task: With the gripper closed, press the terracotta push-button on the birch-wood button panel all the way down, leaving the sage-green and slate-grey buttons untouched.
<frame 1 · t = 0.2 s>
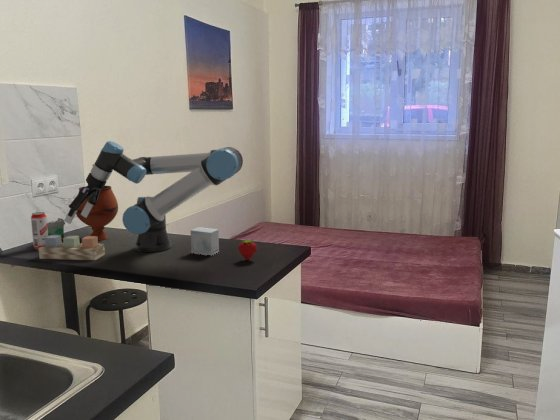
hand: (75, 219, 210), 15 cm above the counter, tool tilted 30°, fingers open, 13 cm apart
terracotta button: (89, 242, 208), point 6 cm above the counter, slide at 0.0 cm
slate-grey button: (53, 241, 209), point 6 cm above the counter, slide at 0.0 cm
strawberry: (247, 260, 204), on the counter
goblet: (98, 238, 240), on the counter
food container: (58, 242, 234), on the counter
button panel: (72, 256, 210), on the counter
beer can: (41, 249, 222), on the counter
skincare box: (205, 253, 215), on the counter
sage-green button: (71, 241, 209), point 6 cm above the counter, slide at 0.0 cm
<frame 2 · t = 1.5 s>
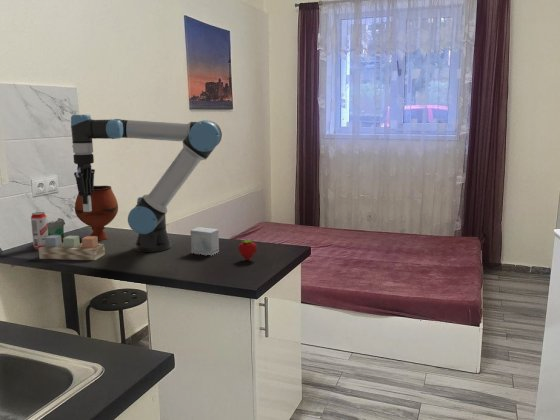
hand: (87, 211, 205), 19 cm above the counter, tool pointing down, fingers closed
nothing on the counter moved.
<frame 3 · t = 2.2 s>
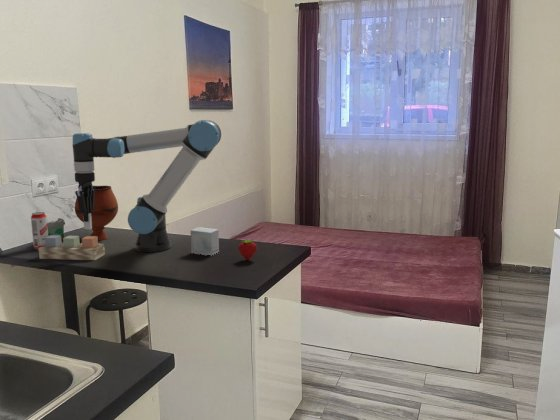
hand: (88, 228, 207), 12 cm above the counter, tool pointing down, fingers closed
nothing on the counter moved.
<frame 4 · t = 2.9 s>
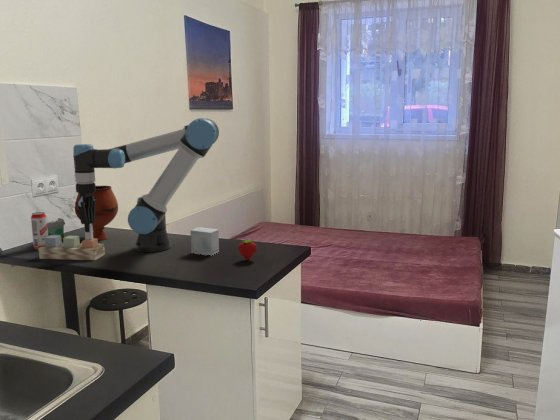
hand: (89, 239, 208), 8 cm above the counter, tool pointing down, fingers closed
terracotta button: (90, 244, 208), point 5 cm above the counter, slide at 0.9 cm, touching gripper
everything else where it was.
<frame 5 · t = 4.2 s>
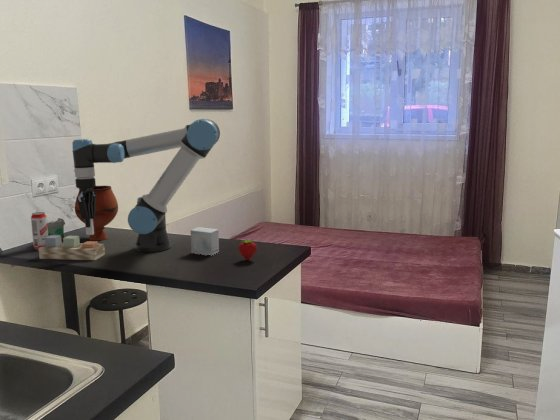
hand: (90, 234, 207), 10 cm above the counter, tool pointing down, fingers closed
terracotta button: (90, 247, 208), point 4 cm above the counter, slide at 2.2 cm
everything else where it was.
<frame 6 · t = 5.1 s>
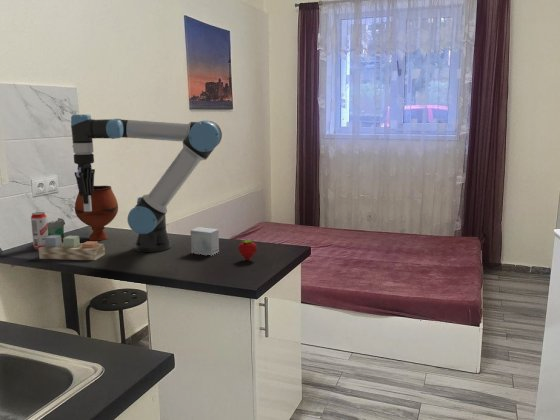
hand: (88, 211, 206), 19 cm above the counter, tool pointing down, fingers closed
nothing on the counter moved.
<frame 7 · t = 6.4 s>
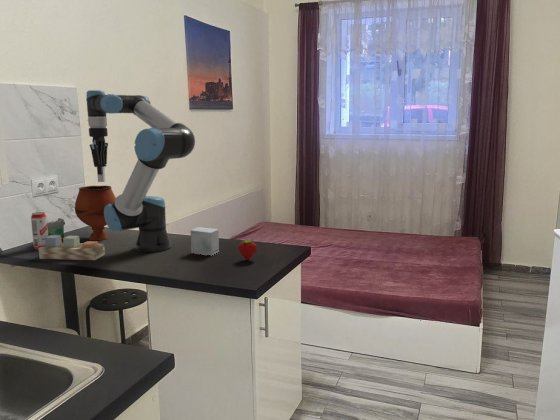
hand: (101, 181, 220), 29 cm above the counter, tool pointing down, fingers closed
nothing on the counter moved.
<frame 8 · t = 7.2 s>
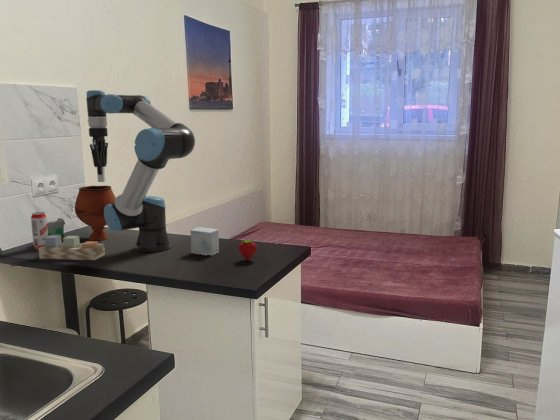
hand: (101, 181, 220), 29 cm above the counter, tool pointing down, fingers closed
nothing on the counter moved.
at the end: terracotta button slide at 2.2 cm; sage-green button slide at 0.0 cm; slate-grey button slide at 0.0 cm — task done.
